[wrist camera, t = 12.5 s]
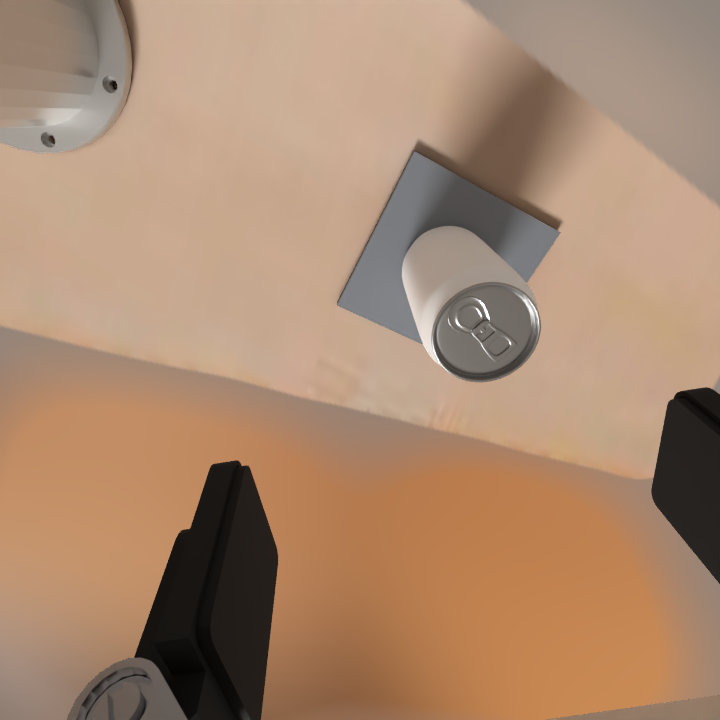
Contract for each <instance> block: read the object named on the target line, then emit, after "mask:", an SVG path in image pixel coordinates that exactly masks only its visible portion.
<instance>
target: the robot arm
mask: <svg viewBox="0 0 720 720" xmlns="http://www.w3.org/2000/svg"><path fill="white" fill-rule="evenodd" d="M131 74H132V55H131V42H130V38H129V34H128V30H127V25H126V21H125V18H124V15H123V13H122V10H121V8H120V5H119V2H118V0H0V143H2V144H5V145H8V146H10V147H13V148H16V149H18V150H23V151H28V152H34V153H62V152H68V151H74V150H76V149H79V148H82V147H85V146H87V145H90V144H91V143H93V142H94V141H96V140H97V139H99V138H100V137H102V136H103V135H104V134H105V133H106V132H107V131H108V130H109V129H110V128H111V127H112V126H113V124H114V123H115V122H116V120H117V119H118V117H119V115H120V113H121V111H122V110H123V108H124V106H125V103H126V99H127V96H128V93H129V89H130V84H131ZM114 81H116V83H117V90H115V89H114V88H113V86H112V83H113V82H114ZM52 137H54V138H55V142H54V141H53V140H52ZM652 497H653V500H654V503H655V505H656V506H657V507H658V508H659V510H660V511H661V512H662V514H663V515H664V516H665V517H666V518H667V520H668V521H669V522H670V523H671V525H672V526H673V527H674V528H675V530H676V531H677V532H678V533H679V534H680V536H681V537H682V538H683V539H684V541H685V542H686V543H687V544H688V546H689V547H690V548H691V549H692V550H693V552H694V553H695V554H696V555H697V556H698V558H699V559H700V560H701V561H702V563H703V564H704V565H705V566H706V568H707V569H708V570H709V571H710V572H711V574H712V575H713V576H714V577H715V579H716V580H717V581H718V582H719V584H720V394H718V393H717V392H716V391H714V390H712V389H711V388H699V389H692V390H686V391H680V392H678V393H677V394H676V395H675V397H674V399H672V400H670V401H669V402H668V405H667V410H666V416H665V421H664V426H663V431H662V437H661V442H660V447H659V453H658V458H657V463H656V468H655V474H654V479H653V484H652ZM277 567H278V553H277V548H276V544H275V541H274V538H273V535H272V532H271V529H270V526H269V523H268V520H267V517H266V514H265V511H264V509H263V506H262V503H261V500H260V497H259V494H258V491H257V488H256V485H255V482H254V479H253V476H252V473H251V470H250V468H249V466H241V464H240V462H239V461H230V462H224V463H217V464H213V465H212V466H211V468H210V470H209V473H208V476H207V479H206V482H205V485H204V488H203V491H202V494H201V498H200V501H199V504H198V507H197V510H196V513H195V516H194V519H193V522H192V525H191V528H190V529H186V530H182V531H181V532H180V533H179V534H178V536H177V538H176V540H175V543H174V546H173V548H172V551H171V554H170V557H169V560H168V563H167V566H166V569H165V572H164V574H163V577H162V580H161V583H160V585H159V588H158V591H157V594H156V597H155V600H154V603H153V605H152V609H151V611H150V614H149V617H148V620H147V623H146V625H145V629H144V631H143V634H142V637H141V640H140V642H139V645H138V648H137V651H136V654H135V657H134V658H128V659H125V660H122V661H120V662H117V663H114V664H113V665H111V666H110V667H108V668H106V669H105V670H103V671H102V672H100V673H99V674H98V675H97V676H96V677H95V678H94V679H93V680H92V681H91V682H89V683H88V684H87V686H86V687H85V688H84V689H83V691H82V692H81V693H80V695H79V696H78V697H77V699H76V700H75V703H74V704H73V707H72V709H71V711H70V713H69V715H68V718H67V720H261V713H262V703H263V695H264V686H265V676H266V667H267V658H268V649H269V640H270V631H271V622H272V613H273V604H274V594H275V586H276V585H275V584H276V577H277ZM548 720H720V695H717V696H710V697H702V698H695V699H688V700H681V701H674V702H666V703H659V704H653V705H645V706H638V707H632V708H625V709H618V710H610V711H604V712H597V713H589V714H583V715H576V716H569V717H562V718H555V719H548Z"/></svg>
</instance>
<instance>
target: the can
mask: <svg viewBox="0 0 720 720" xmlns="http://www.w3.org/2000/svg"><path fill="white" fill-rule="evenodd" d="M402 280H403V285H404V288H405V292H406V295H407V298H408V301H409V304H410V308H411V311H412V314H413V317H414V320H415V323H416V326H417V329H418V332H419V335H420V338H421V340H422V343H423V345H424V347H425V349H426V351H427V352H428V354H429V355H430V356H431V358H432V359H433V360H434V361H435V362H437V363H438V364H439V365H440V366H442V367H443V368H444V369H445V370H446V371H447V372H449V373H450V374H451V375H453V376H455V377H457V378H459V379H462V380H466V381H470V382H488V381H493V380H497V379H500V378H503V377H505V376H507V375H509V374H511V373H513V372H514V371H516V370H517V369H518V368H520V367H521V366H522V365H523V364H524V363H525V362H526V361H527V360H528V359H529V357H530V356H531V355H532V353H533V351H534V350H535V348H536V345H537V343H538V340H539V336H540V330H541V322H540V316H539V312H538V308H537V303H536V299H535V296H534V294H533V292H532V290H531V289H530V287H529V286H528V284H527V283H526V282H525V281H524V279H523V278H522V277H521V276H520V275H519V274H518V273H517V272H516V271H515V270H514V269H513V268H511V267H510V266H509V265H508V264H507V263H506V262H505V261H504V260H503V259H502V258H501V257H500V256H499V255H498V254H497V253H495V252H494V251H493V250H492V249H491V248H490V247H489V246H488V245H487V244H486V243H485V242H484V241H482V240H481V239H480V238H479V237H478V236H477V235H475V234H474V233H472V232H471V231H469V230H467V229H464V228H461V227H457V226H442V227H437V228H434V229H431V230H429V231H427V232H425V233H423V234H422V235H421V236H420V237H418V238H417V239H416V240H415V242H414V243H413V244H412V245H411V247H410V248H409V250H408V251H407V253H406V255H405V258H404V261H403V265H402Z"/></svg>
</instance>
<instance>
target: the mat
mask: <svg viewBox="0 0 720 720" xmlns="http://www.w3.org/2000/svg"><path fill="white" fill-rule="evenodd" d="M442 226H457V227H461V228H464V229H467V230H469V231H471V232H472V233H474V234H475V235H477V236H478V237H479V238H480V239H481V240H482V241H484V242H485V243H486V244H487V245H488V246H489V247H490V248H491V249H492V250H493V251H494V252H495V253H497V254H498V255H499V256H500V257H501V258H502V259H503V260H504V261H505V262H506V263H507V264H508V265H509V266H510V267H511V268H513V269H514V270H515V271H516V272H517V273H518V274H519V275H520V276H521V277H522V278H523V279H524V281H525V282H526V283H527V282H528V280H529V279H530V277H531V276H532V274H533V273H534V271H535V270H536V268H537V267H538V265H539V264H540V262H541V261H542V259H543V258H544V256H545V255H546V253H547V252H548V250H549V249H550V247H551V246H552V245H553V243H554V242H555V240H556V239H557V237H558V236H559V234H560V233H561V232H559V231H557V230H555V229H554V228H552V227H550V226H548V225H546V224H545V223H543V222H541V221H539V220H537V219H536V218H534V217H532V216H530V215H528V214H527V213H525V212H523V211H521V210H519V209H518V208H516V207H514V206H512V205H510V204H509V203H507V202H505V201H503V200H501V199H500V198H498V197H496V196H494V195H492V194H491V193H489V192H487V191H485V190H483V189H482V188H480V187H478V186H476V185H474V184H473V183H471V182H469V181H467V180H465V179H464V178H462V177H460V176H458V175H456V174H455V173H453V172H451V171H449V170H447V169H446V168H444V167H442V166H440V165H438V164H437V163H435V162H433V161H431V160H429V159H428V158H426V157H424V156H422V155H420V154H419V153H417V152H415V151H413V153H412V155H411V157H410V159H409V161H408V163H407V165H406V167H405V169H404V171H403V173H402V175H401V177H400V179H399V181H398V183H397V185H396V187H395V189H394V191H393V193H392V195H391V196H390V198H389V200H388V202H387V204H386V206H385V208H384V210H383V212H382V214H381V216H380V218H379V220H378V222H377V224H376V226H375V228H374V230H373V232H372V234H371V236H370V238H369V240H368V242H367V244H366V246H365V248H364V250H363V252H362V254H361V256H360V258H359V260H358V262H357V264H356V266H355V268H354V270H353V272H352V274H351V276H350V278H349V280H348V282H347V284H346V286H345V288H344V290H343V292H342V294H341V296H340V298H339V300H338V302H337V305H338V306H340V307H342V308H344V309H346V310H349V311H351V312H353V313H355V314H357V315H359V316H362V317H364V318H366V319H368V320H370V321H373V322H375V323H377V324H379V325H381V326H384V327H386V328H388V329H390V330H392V331H395V332H397V333H399V334H401V335H403V336H405V337H408V338H410V339H412V340H414V341H416V342H419V343H421V344H423V343H422V340H421V338H420V335H419V332H418V329H417V326H416V323H415V320H414V317H413V314H412V311H411V308H410V304H409V301H408V298H407V295H406V292H405V288H404V285H403V280H402V265H403V261H404V258H405V255H406V253H407V251H408V250H409V248H410V247H411V245H412V244H413V243H414V242H415V240H416V239H417V238H418V237H420V236H421V235H422V234H423V233H425V232H427V231H429V230H431V229H434V228H437V227H442Z"/></svg>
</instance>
